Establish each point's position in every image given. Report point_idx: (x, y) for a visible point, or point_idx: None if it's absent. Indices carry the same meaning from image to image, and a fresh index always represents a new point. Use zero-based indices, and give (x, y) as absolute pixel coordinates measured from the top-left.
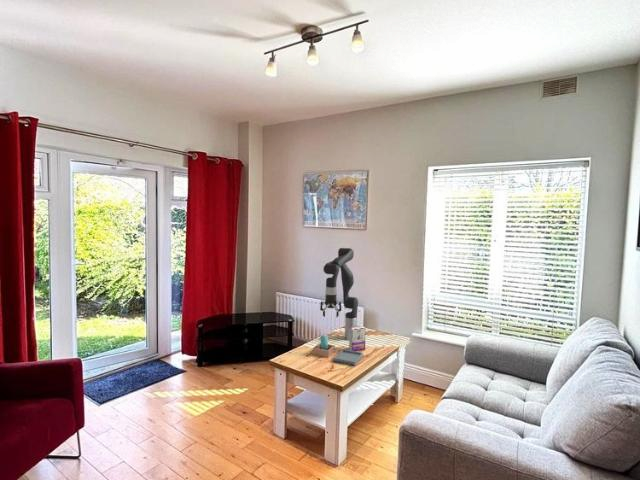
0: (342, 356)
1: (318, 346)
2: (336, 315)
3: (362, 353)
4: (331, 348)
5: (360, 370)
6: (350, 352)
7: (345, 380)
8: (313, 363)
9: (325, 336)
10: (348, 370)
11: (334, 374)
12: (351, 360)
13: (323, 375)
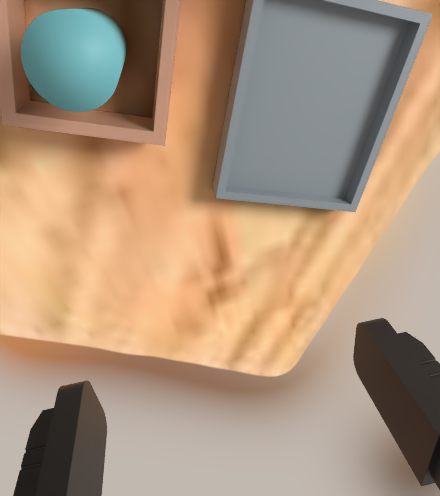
0: (265, 105)
1: (11, 6)
2: (375, 402)
3: (424, 32)
4: (171, 73)
5: (369, 243)
6: (326, 1)
7: (299, 346)
8: (99, 251)
9: (88, 63)
10: (309, 263)
11: (246, 320)
12: (329, 156)
13: (199, 343)
